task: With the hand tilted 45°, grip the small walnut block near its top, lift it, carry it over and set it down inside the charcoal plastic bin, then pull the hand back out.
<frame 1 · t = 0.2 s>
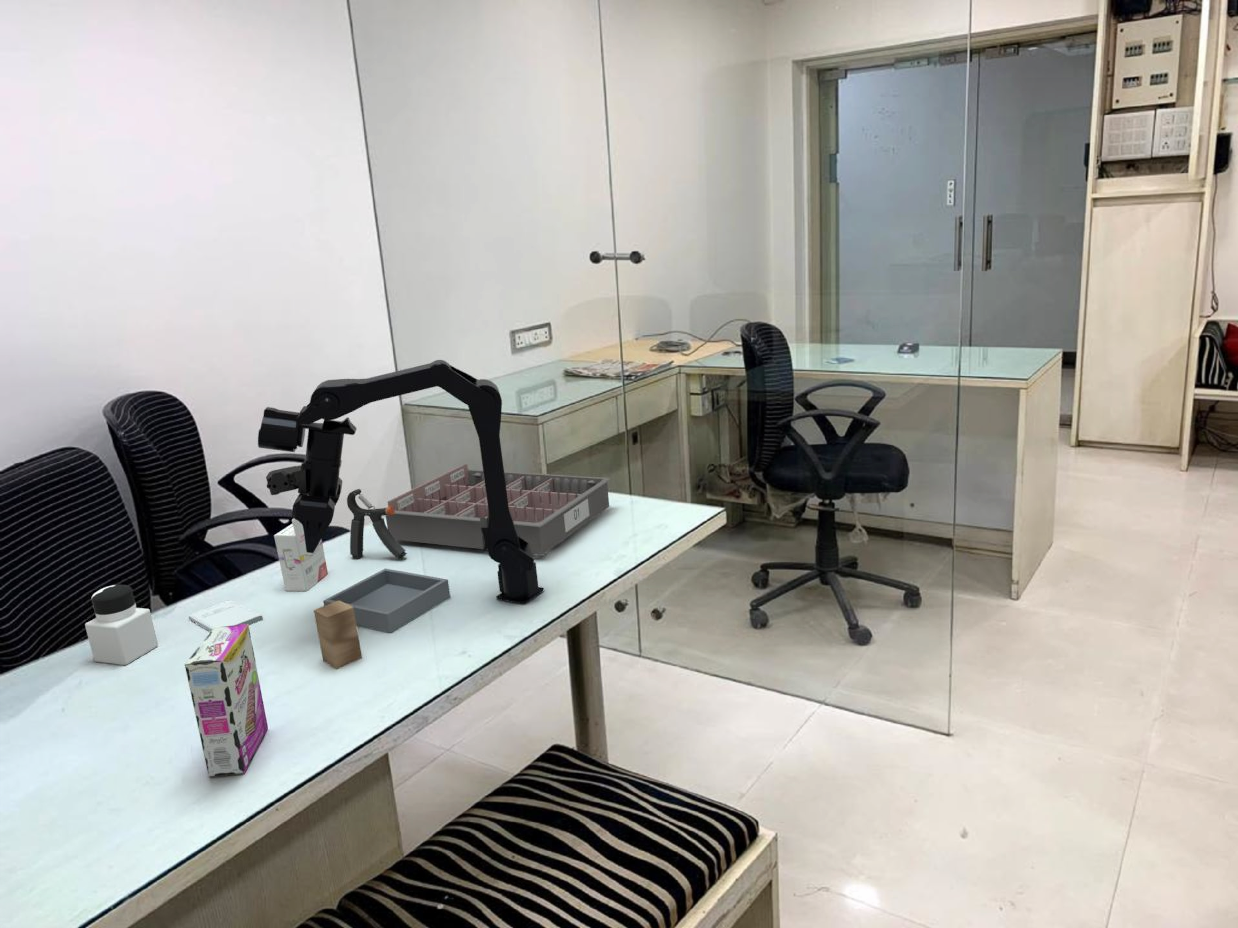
hand: (313, 543, 157), 15 cm above the table, tool tilted 15°, fingers open, 9 cm apart
hand grip strengthener: (379, 559, 191), on the table
charcoal bin: (389, 607, 166), on the table
organizer tray: (502, 529, 203), on the table
white power bank: (226, 623, 167), on the table
walnut block: (342, 659, 147), on the table
ink cartridge box: (306, 583, 181), on the table
medicine bottle: (127, 655, 156), on the table
candy bar box: (241, 753, 123), on the table
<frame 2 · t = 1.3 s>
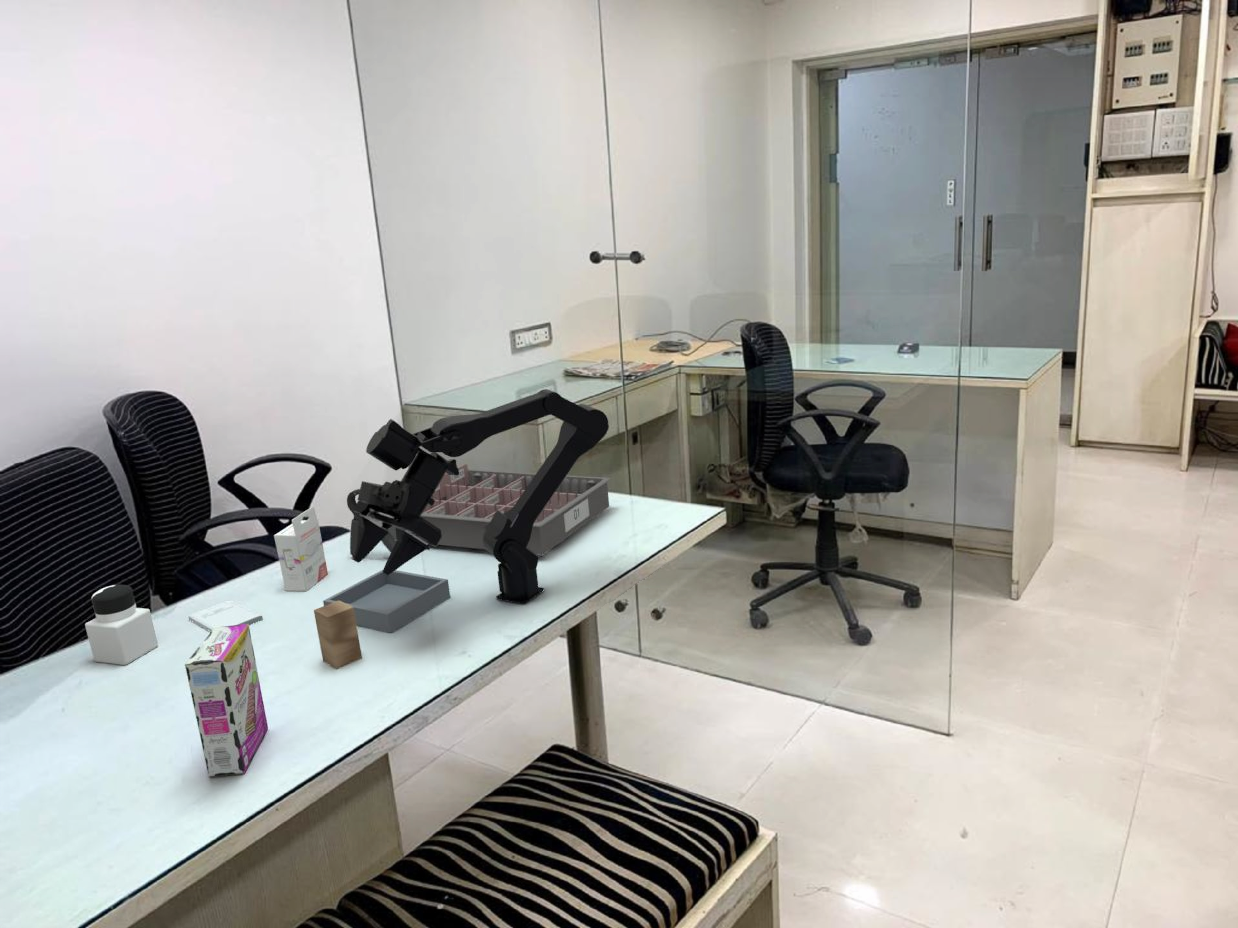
hand: (370, 567, 149), 13 cm above the table, tool tilted 45°, fingers open, 9 cm apart
nothing on the table moved.
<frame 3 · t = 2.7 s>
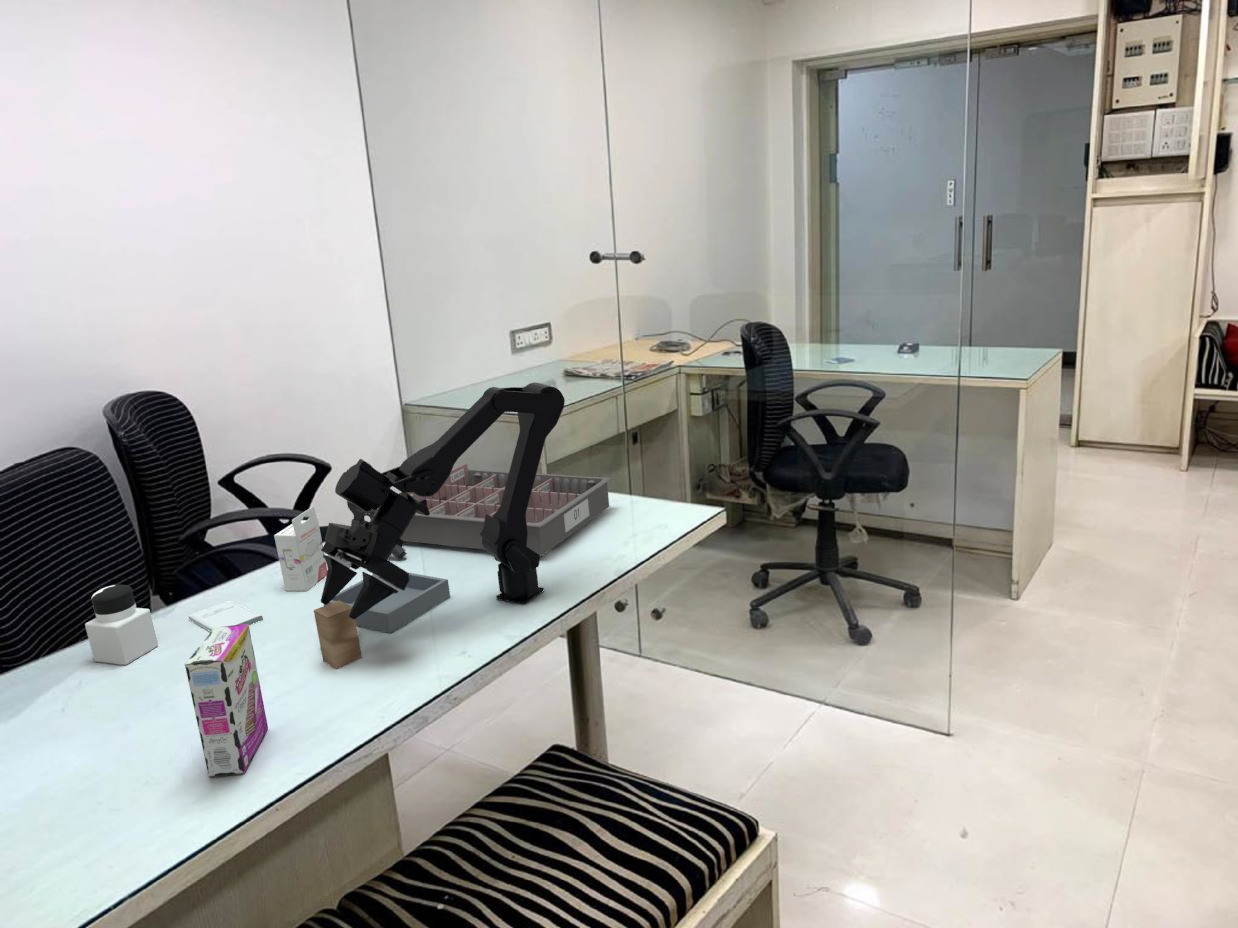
hand: (336, 610, 146), 8 cm above the table, tool tilted 45°, fingers open, 9 cm apart
nothing on the table moved.
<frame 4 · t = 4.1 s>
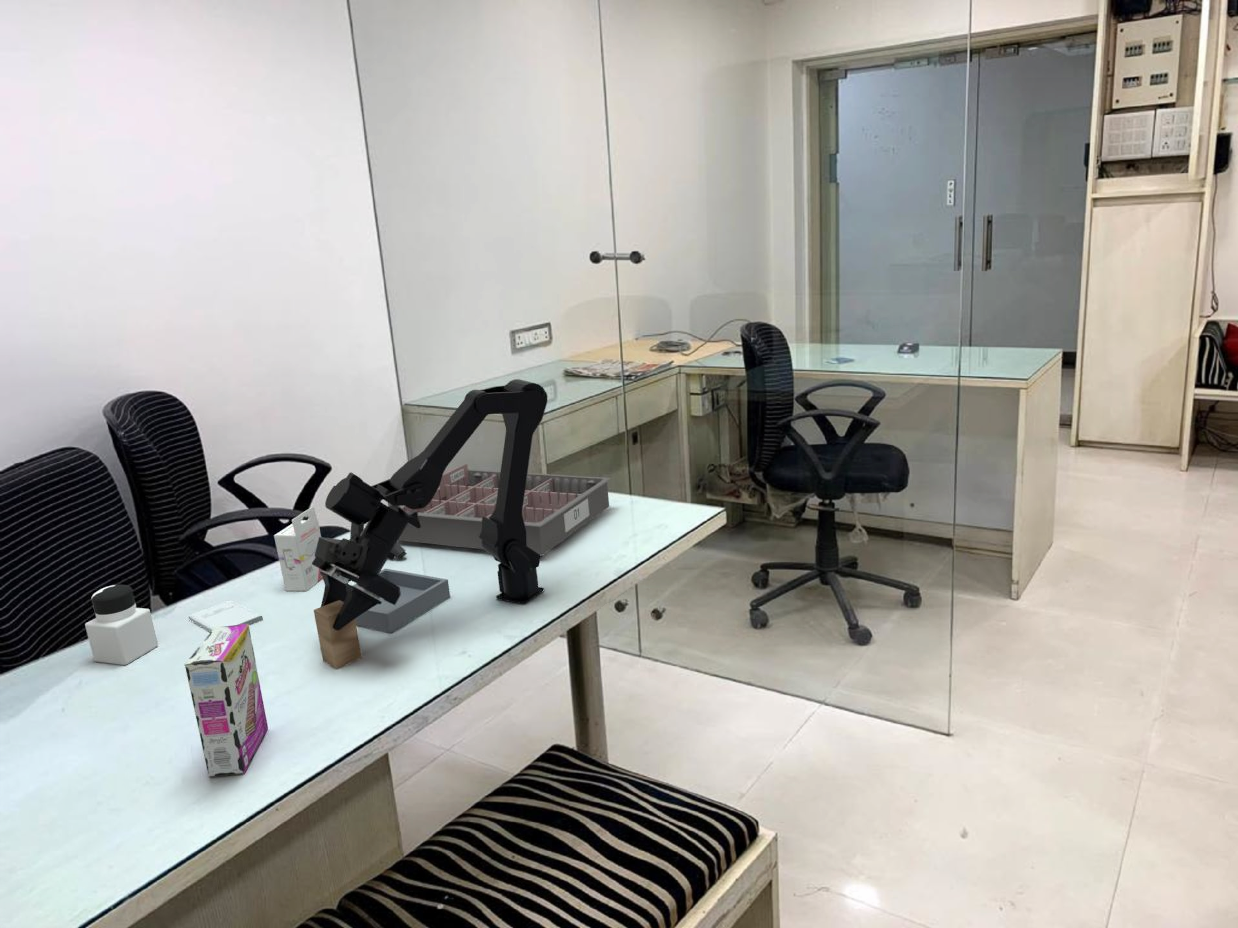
hand: (327, 625, 145), 7 cm above the table, tool tilted 45°, fingers closed on walnut block, 4 cm apart
walnut block: (342, 659, 147), on the table, touching gripper
everything else where it was.
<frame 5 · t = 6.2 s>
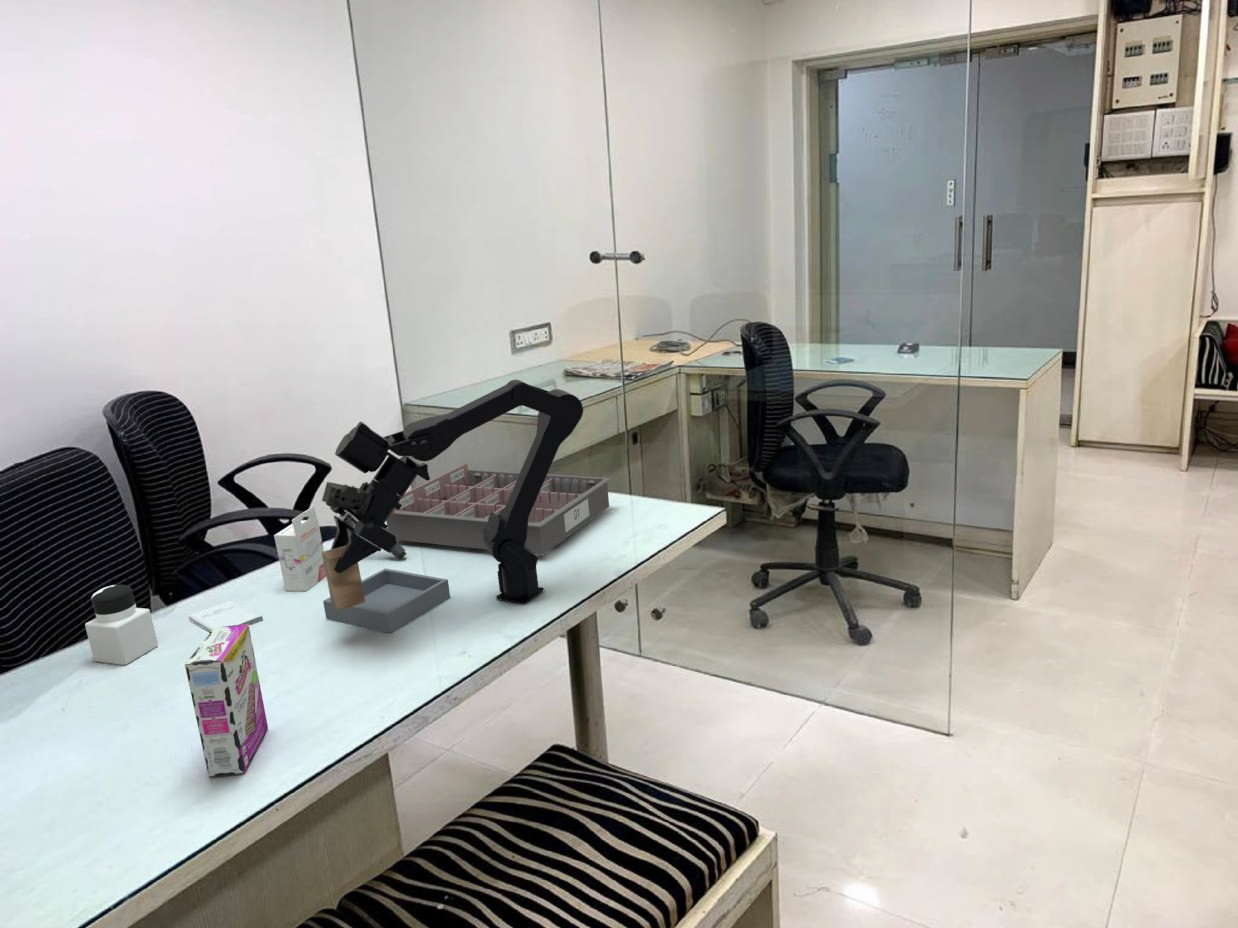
hand: (333, 567, 150), 13 cm above the table, tool tilted 45°, fingers closed on walnut block, 4 cm apart
walnut block: (348, 601, 153), point 7 cm above the table, touching gripper
everything else where it was.
when the fingers open (9 cm above the table, at t = 8.3 s): walnut block drops 2 cm, resting on charcoal bin.
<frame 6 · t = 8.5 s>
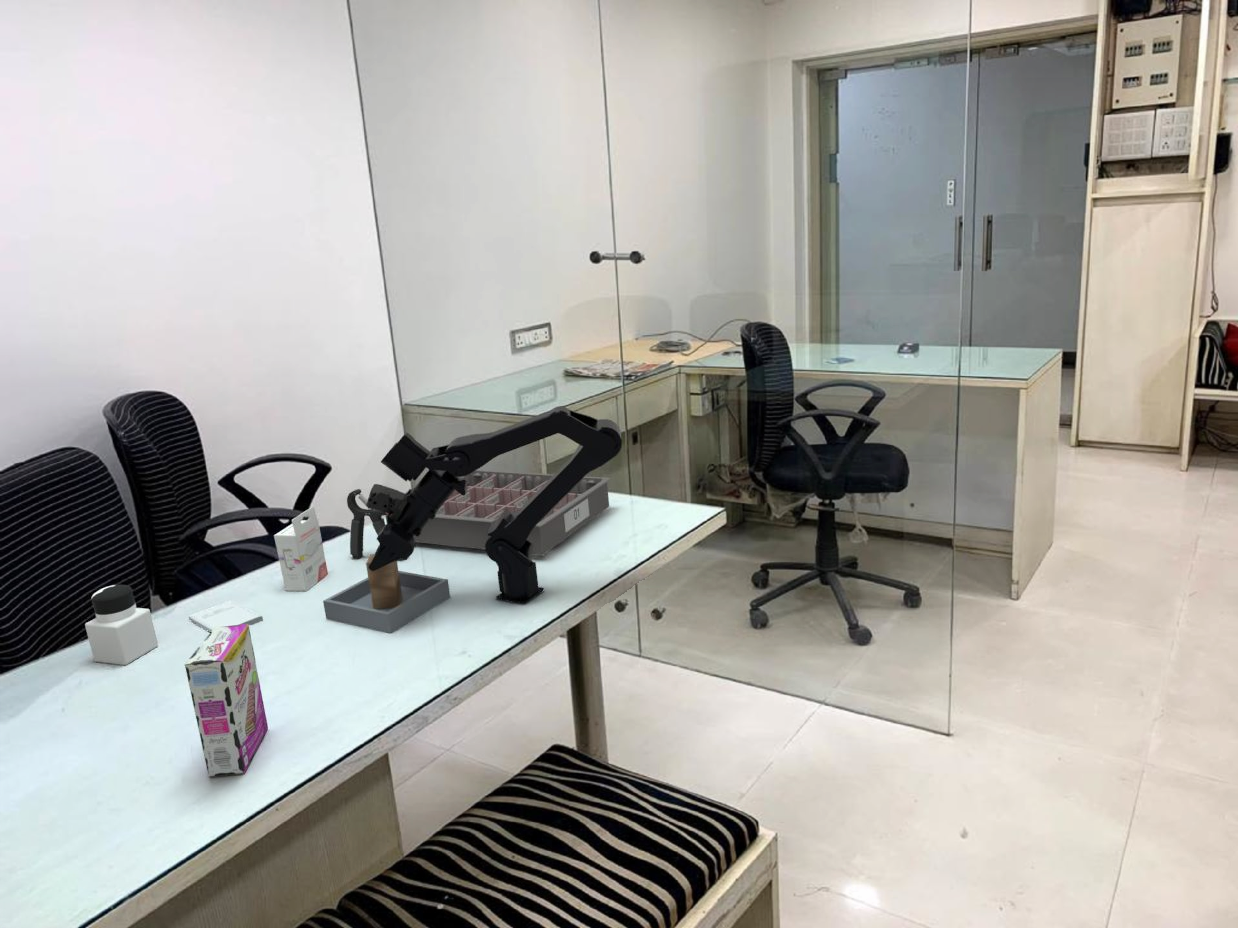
hand: (373, 562, 163), 9 cm above the table, tool tilted 45°, fingers open, 7 cm apart
walnut block: (388, 603, 165), point 1 cm above the table, touching charcoal bin
everything else where it was.
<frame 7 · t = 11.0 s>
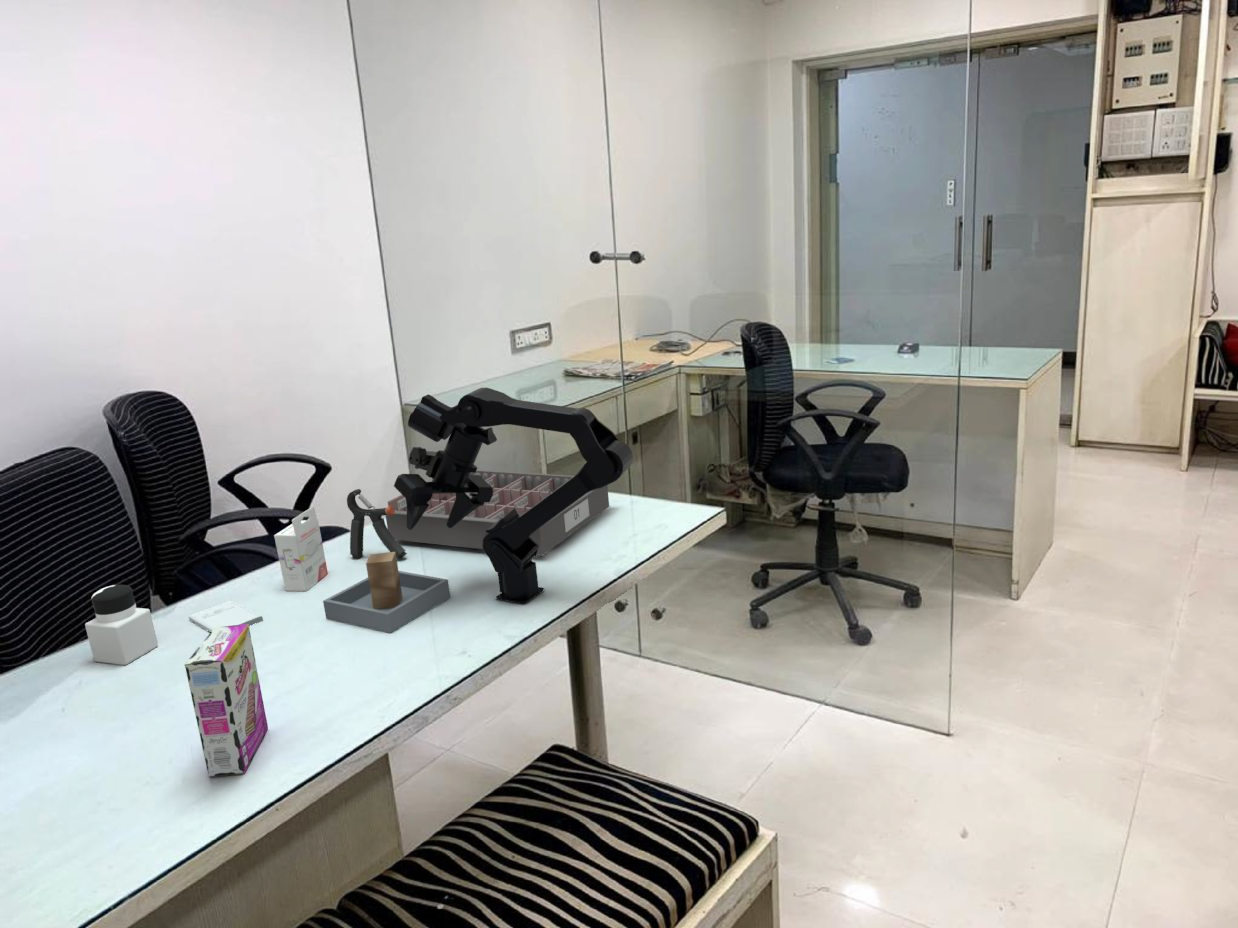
hand: (429, 527, 166), 13 cm above the table, tool tilted 30°, fingers open, 9 cm apart
nothing on the table moved.
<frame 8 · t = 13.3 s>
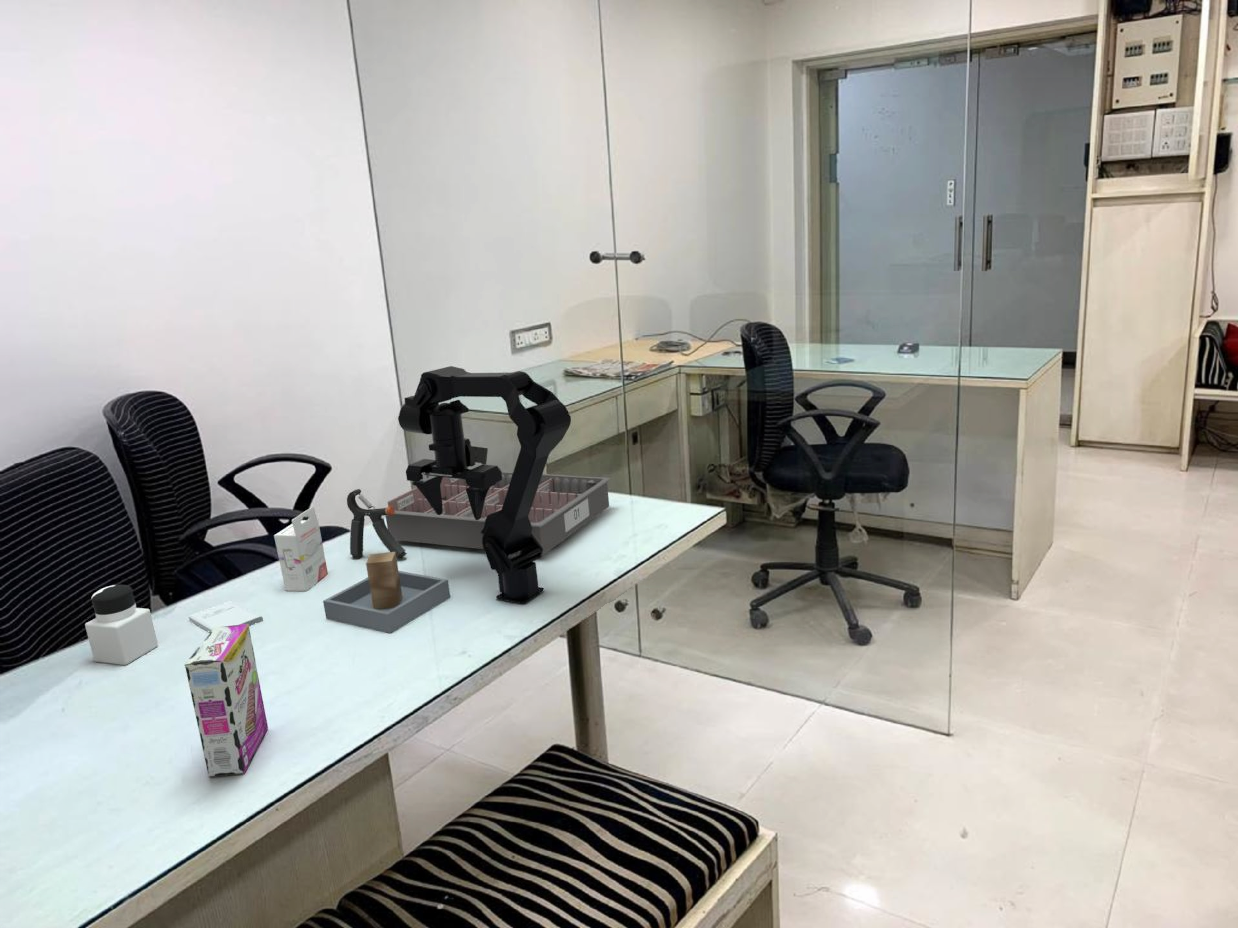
hand: (458, 516, 172), 13 cm above the table, tool pointing down, fingers open, 9 cm apart
nothing on the table moved.
at the end: walnut block inside the target area on the charcoal bin (0.0 cm from its centre), point 0.8 cm above the charcoal bin's base; walnut block tilted 0°; the gripper is holding nothing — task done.
